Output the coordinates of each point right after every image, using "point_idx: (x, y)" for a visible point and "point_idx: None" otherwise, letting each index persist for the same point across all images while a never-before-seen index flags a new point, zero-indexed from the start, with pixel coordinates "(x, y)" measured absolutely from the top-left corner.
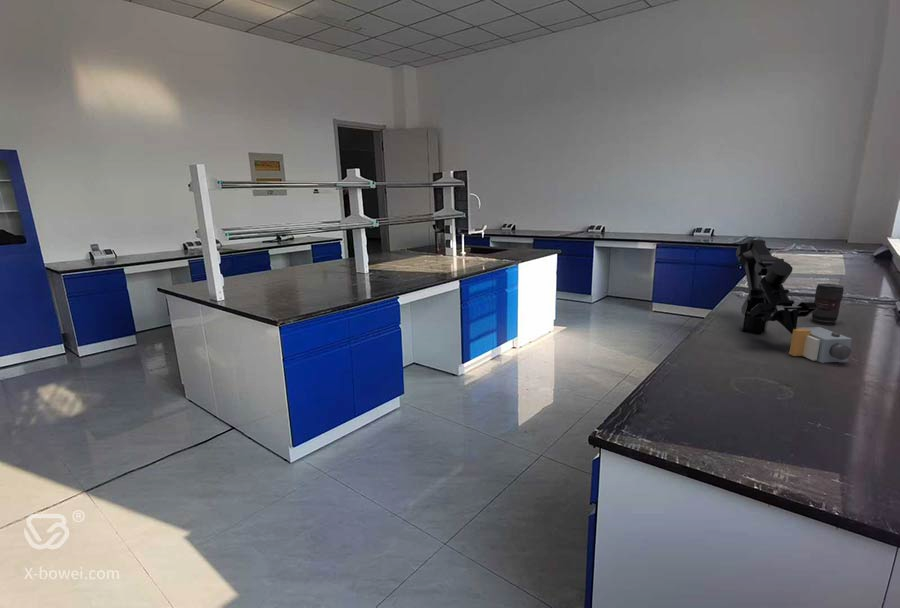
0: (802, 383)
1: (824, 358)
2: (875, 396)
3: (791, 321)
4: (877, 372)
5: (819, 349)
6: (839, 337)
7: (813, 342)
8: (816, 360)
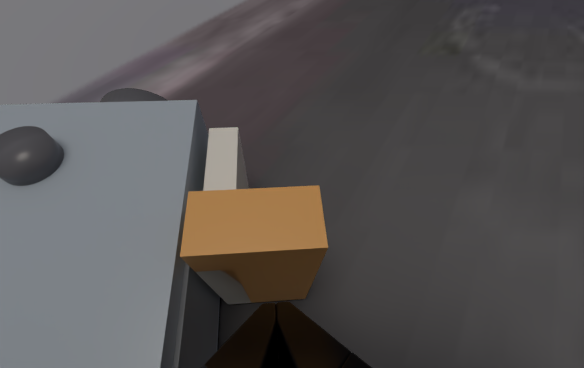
0: (407, 54)
1: None
2: (276, 5)
3: (306, 355)
4: None
5: None
6: (50, 129)
7: (240, 160)
8: None
